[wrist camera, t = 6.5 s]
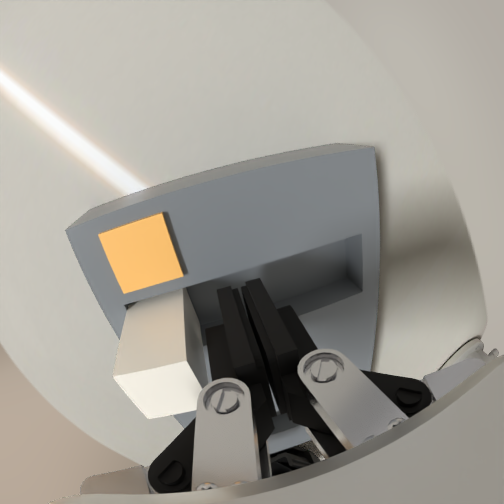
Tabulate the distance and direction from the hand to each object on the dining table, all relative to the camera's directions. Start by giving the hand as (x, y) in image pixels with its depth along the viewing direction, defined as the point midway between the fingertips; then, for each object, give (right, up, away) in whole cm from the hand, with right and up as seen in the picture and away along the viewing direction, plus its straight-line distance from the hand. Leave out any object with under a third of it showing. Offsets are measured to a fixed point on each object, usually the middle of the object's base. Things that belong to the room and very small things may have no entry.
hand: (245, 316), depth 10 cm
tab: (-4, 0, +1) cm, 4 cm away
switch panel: (+1, -3, +6) cm, 6 cm away
